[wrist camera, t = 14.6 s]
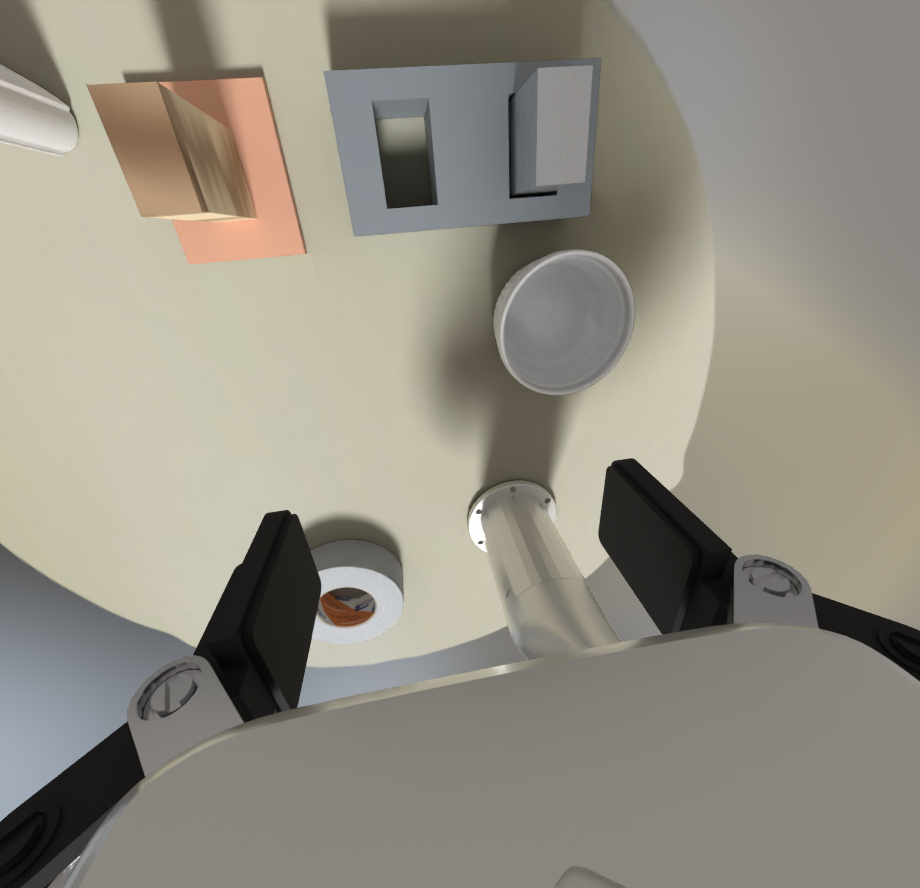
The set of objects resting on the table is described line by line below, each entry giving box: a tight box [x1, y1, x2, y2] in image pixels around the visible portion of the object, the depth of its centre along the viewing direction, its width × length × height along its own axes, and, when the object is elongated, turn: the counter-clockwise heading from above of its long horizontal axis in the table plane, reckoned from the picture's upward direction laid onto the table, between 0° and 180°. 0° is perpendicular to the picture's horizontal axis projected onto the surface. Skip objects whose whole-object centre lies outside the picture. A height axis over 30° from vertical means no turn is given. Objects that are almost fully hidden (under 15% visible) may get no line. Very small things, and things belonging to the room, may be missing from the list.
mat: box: [158, 77, 307, 264], centre depth 32 cm, size 12×10×1 cm
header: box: [324, 58, 601, 236], centre depth 32 cm, size 10×20×5 cm, turn 94°
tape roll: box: [311, 540, 404, 644], centre depth 53 cm, size 15×15×5 cm
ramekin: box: [493, 249, 635, 395], centre depth 39 cm, size 13×13×7 cm
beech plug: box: [87, 81, 258, 223], centre depth 27 cm, size 6×4×11 cm, turn 5°
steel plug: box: [508, 65, 593, 199], centre depth 30 cm, size 6×4×11 cm, turn 4°
